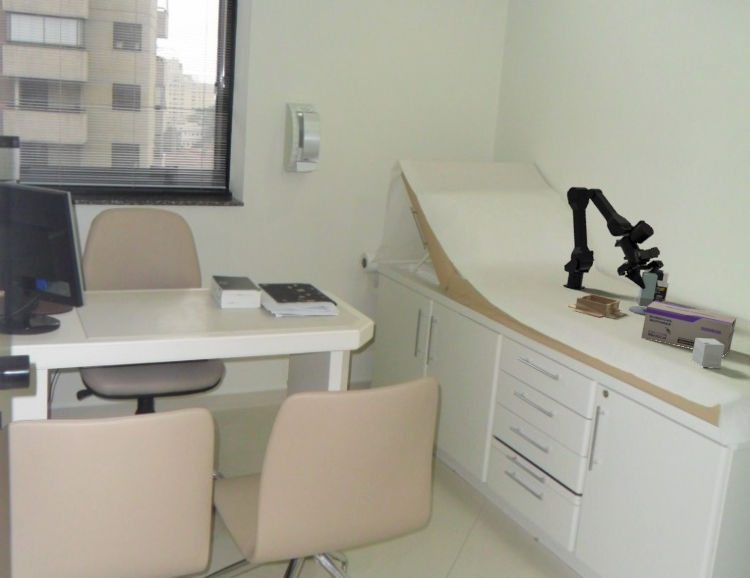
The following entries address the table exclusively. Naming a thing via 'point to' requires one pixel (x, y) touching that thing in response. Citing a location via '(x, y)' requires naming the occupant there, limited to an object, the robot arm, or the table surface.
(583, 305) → the carton
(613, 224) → the robot arm
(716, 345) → the skincare box
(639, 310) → the mat
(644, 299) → the slim box
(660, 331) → the surgical sutures box
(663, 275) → the medicine bottle
